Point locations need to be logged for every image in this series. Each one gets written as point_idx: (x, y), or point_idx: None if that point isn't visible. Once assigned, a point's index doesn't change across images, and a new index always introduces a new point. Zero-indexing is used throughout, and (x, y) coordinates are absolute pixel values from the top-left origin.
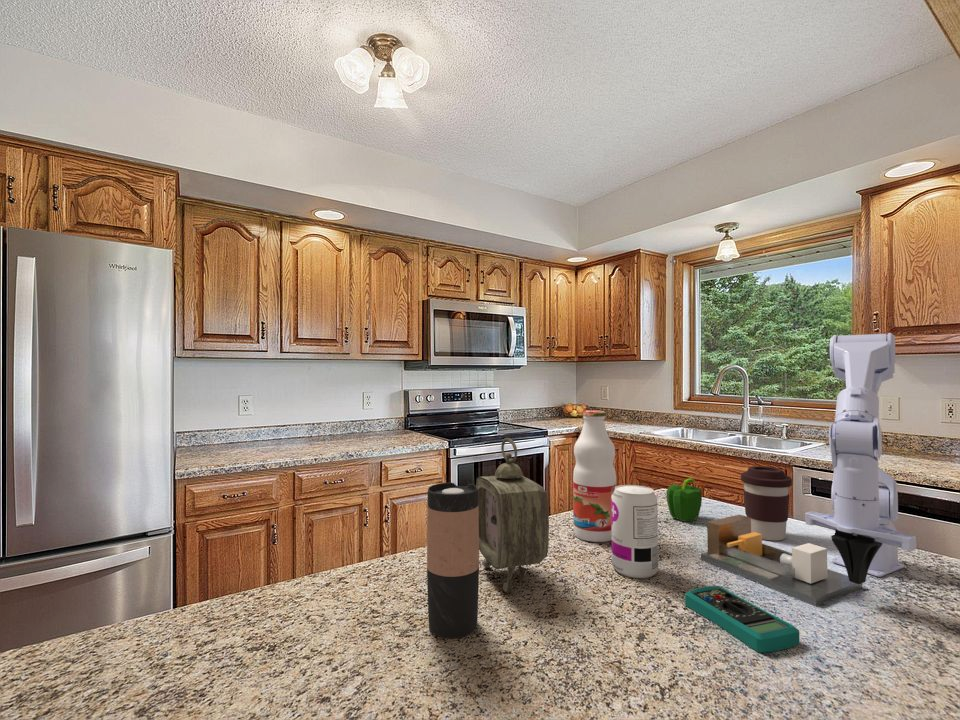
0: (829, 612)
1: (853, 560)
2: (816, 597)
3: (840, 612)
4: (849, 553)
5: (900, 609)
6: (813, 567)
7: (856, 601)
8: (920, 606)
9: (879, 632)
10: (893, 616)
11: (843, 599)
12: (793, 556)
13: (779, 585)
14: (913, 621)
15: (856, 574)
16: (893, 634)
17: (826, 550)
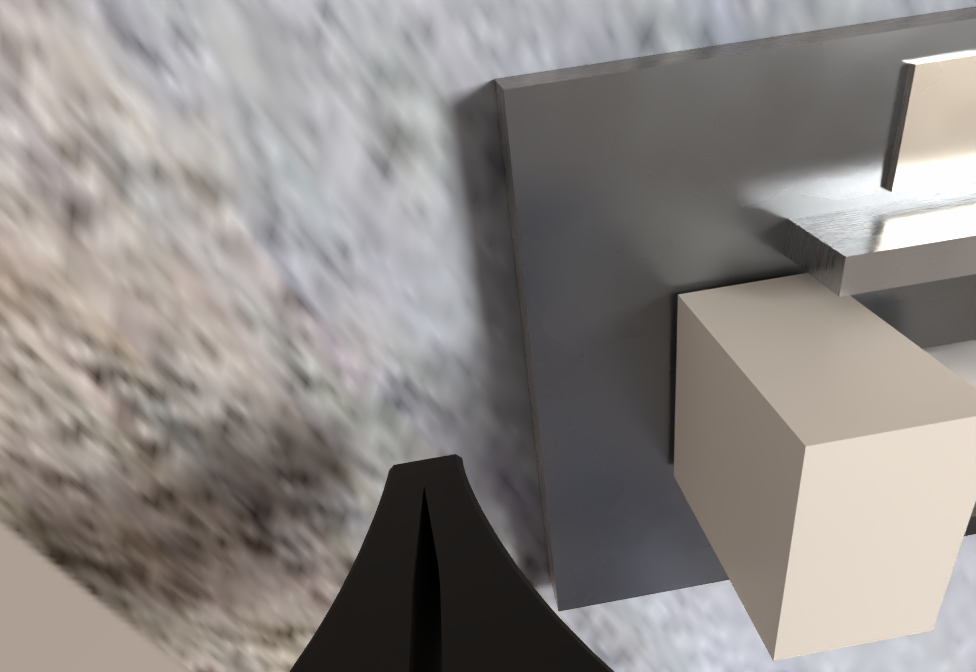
0: (387, 85)
1: (404, 604)
2: (516, 117)
3: (363, 169)
4: (443, 656)
5: (295, 534)
6: (728, 395)
7: (447, 413)
8: (297, 635)
9: (41, 139)
10: (232, 432)
11: (495, 367)
12: (924, 362)
13: (812, 38)
14: (157, 474)
15: (392, 510)
16: (5, 207)
17: (766, 639)
